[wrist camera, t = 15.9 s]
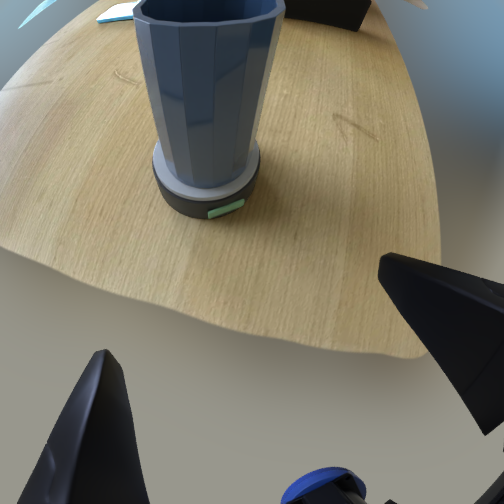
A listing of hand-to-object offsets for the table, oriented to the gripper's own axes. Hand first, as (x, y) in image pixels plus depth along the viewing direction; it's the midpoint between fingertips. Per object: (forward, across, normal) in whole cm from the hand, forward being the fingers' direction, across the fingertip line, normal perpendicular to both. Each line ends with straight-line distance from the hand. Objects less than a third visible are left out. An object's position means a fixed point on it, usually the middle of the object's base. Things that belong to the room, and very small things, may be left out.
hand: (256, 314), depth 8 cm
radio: (+40, -28, -21) cm, 53 cm away
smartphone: (+48, +2, -29) cm, 56 cm away
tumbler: (+16, -2, -2) cm, 16 cm away
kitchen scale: (+19, -2, +1) cm, 19 cm away
